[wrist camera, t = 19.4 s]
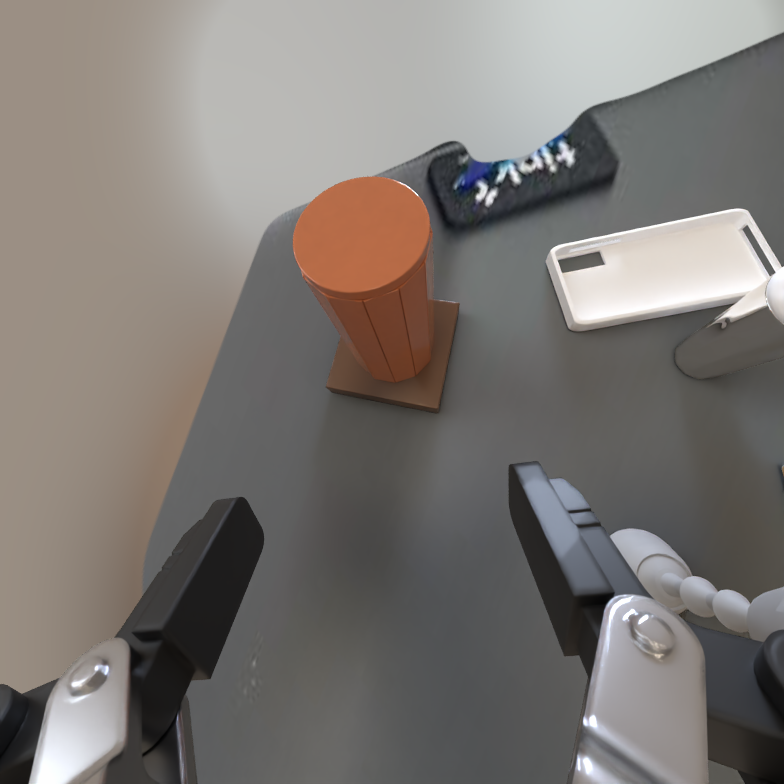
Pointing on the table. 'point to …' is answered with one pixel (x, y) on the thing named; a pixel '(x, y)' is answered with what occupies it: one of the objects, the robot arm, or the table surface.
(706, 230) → the phone case
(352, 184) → the cup
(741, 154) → the table surface
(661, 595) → the chalice
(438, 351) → the stand
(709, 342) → the milkshake
